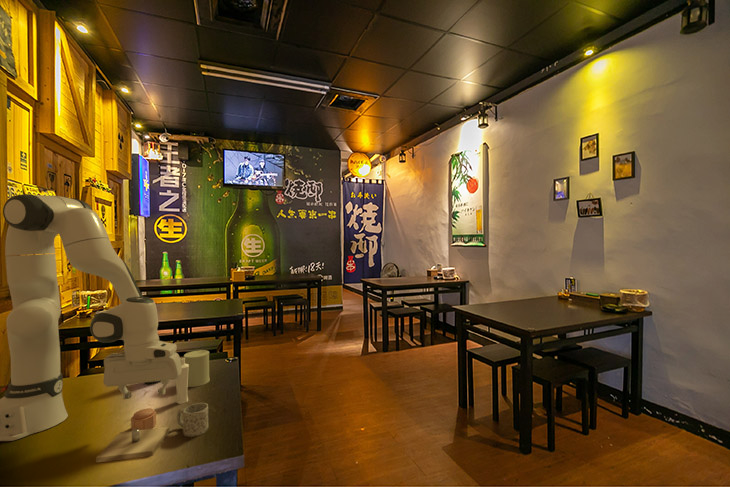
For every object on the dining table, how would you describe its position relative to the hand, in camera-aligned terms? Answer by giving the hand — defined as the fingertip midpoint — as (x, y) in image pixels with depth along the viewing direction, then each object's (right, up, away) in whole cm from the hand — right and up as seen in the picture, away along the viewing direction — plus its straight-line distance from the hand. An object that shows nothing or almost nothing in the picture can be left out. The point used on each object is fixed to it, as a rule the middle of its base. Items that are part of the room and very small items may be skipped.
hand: (144, 396), depth 102 cm
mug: (+15, -9, -2) cm, 18 cm away
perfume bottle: (+2, -10, +17) cm, 20 cm away
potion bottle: (-19, -10, +35) cm, 41 cm away
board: (+4, -9, -9) cm, 14 cm away
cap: (0, -9, 0) cm, 9 cm away
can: (-1, -10, +34) cm, 35 cm away
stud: (+4, -8, -9) cm, 13 cm away
